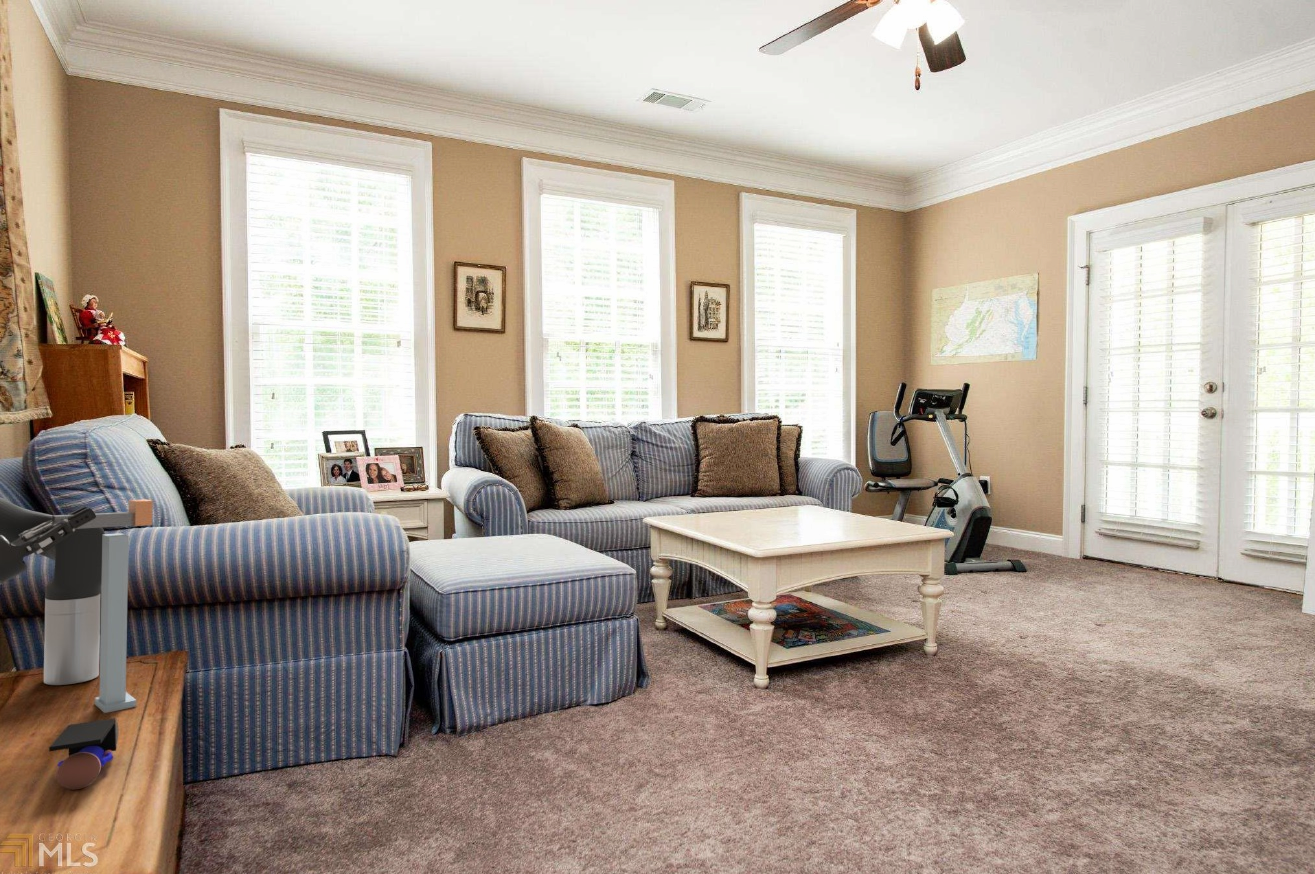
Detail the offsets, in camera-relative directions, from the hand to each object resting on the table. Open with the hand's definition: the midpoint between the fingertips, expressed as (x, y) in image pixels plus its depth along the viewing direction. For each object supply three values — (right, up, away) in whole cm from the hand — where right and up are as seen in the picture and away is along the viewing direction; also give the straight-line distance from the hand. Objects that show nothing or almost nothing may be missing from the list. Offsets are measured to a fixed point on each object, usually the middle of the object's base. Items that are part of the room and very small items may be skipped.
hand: (90, 511), depth 145 cm
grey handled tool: (+1, -3, +1) cm, 3 cm away
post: (+2, -37, +3) cm, 37 cm away
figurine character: (+19, -37, -27) cm, 49 cm away
